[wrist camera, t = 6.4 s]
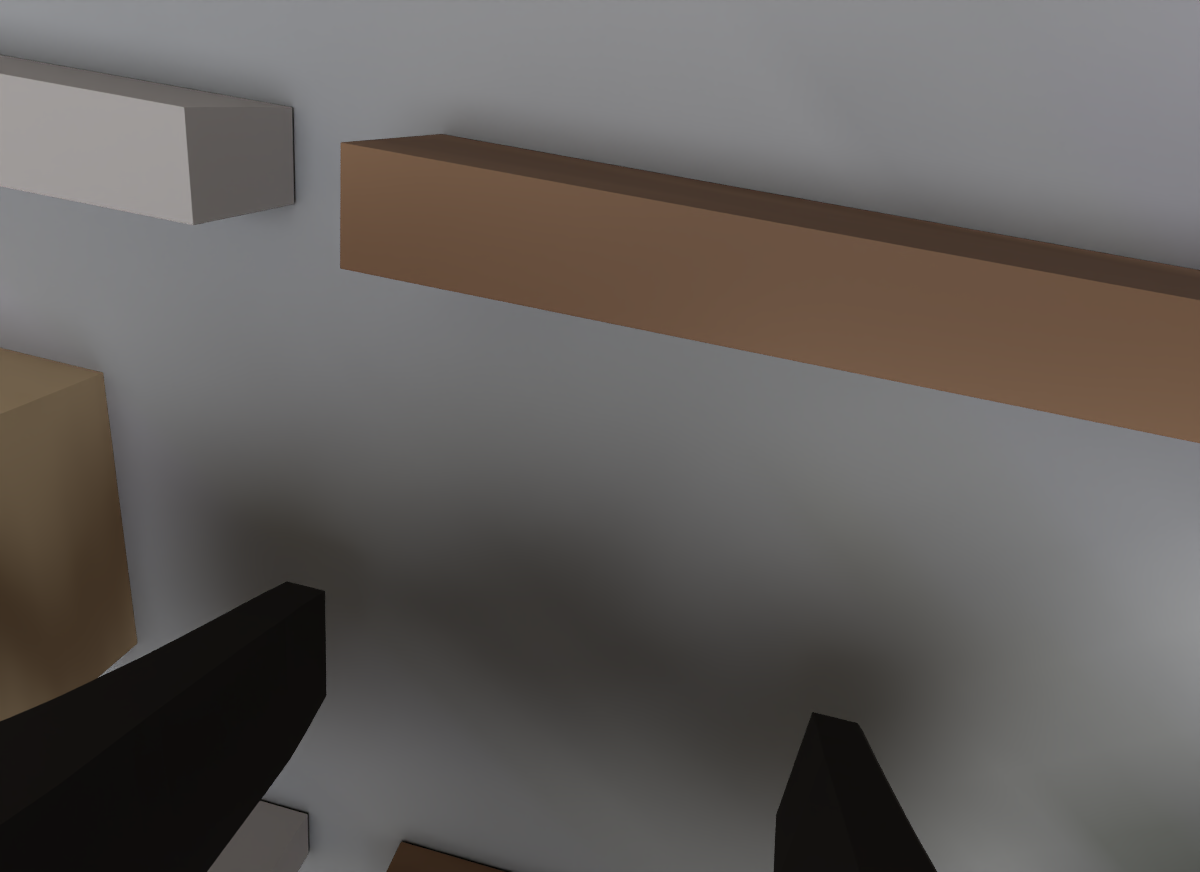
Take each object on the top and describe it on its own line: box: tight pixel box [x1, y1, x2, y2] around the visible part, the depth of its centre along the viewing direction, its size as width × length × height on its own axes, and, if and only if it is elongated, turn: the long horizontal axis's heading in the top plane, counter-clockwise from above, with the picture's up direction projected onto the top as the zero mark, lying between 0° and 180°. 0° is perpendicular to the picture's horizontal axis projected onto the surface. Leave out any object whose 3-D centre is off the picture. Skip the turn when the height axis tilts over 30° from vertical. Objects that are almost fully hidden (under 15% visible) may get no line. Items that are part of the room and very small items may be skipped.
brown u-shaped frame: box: [340, 134, 1200, 872], centre depth 10 cm, size 14×23×2 cm, turn 82°
